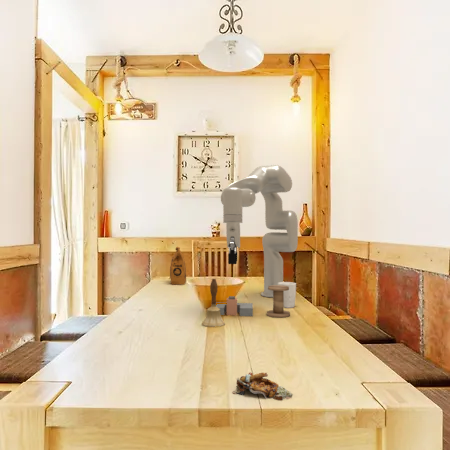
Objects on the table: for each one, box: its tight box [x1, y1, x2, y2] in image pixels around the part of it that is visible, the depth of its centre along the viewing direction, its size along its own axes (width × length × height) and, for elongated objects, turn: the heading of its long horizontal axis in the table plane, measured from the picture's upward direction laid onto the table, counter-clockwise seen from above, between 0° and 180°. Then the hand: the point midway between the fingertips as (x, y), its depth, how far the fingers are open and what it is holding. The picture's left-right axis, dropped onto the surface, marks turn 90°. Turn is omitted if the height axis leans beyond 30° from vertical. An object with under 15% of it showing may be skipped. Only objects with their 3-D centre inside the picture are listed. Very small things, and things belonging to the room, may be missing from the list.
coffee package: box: [169, 246, 187, 286], centre depth 232 cm, size 10×12×22 cm
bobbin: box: [266, 285, 291, 319], centre depth 150 cm, size 9×9×11 cm
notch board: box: [216, 302, 254, 317], centre depth 153 cm, size 16×10×3 cm, turn 87°
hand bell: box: [201, 278, 226, 328], centre depth 135 cm, size 8×8×16 cm
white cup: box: [278, 281, 297, 309], centre depth 167 cm, size 8×8×10 cm
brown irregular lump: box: [231, 372, 293, 401], centre depth 80 cm, size 7×12×4 cm, turn 72°
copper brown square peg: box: [226, 295, 238, 316], centre depth 151 cm, size 4×4×7 cm
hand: (232, 262), depth 151 cm, fingers open, 9 cm apart
